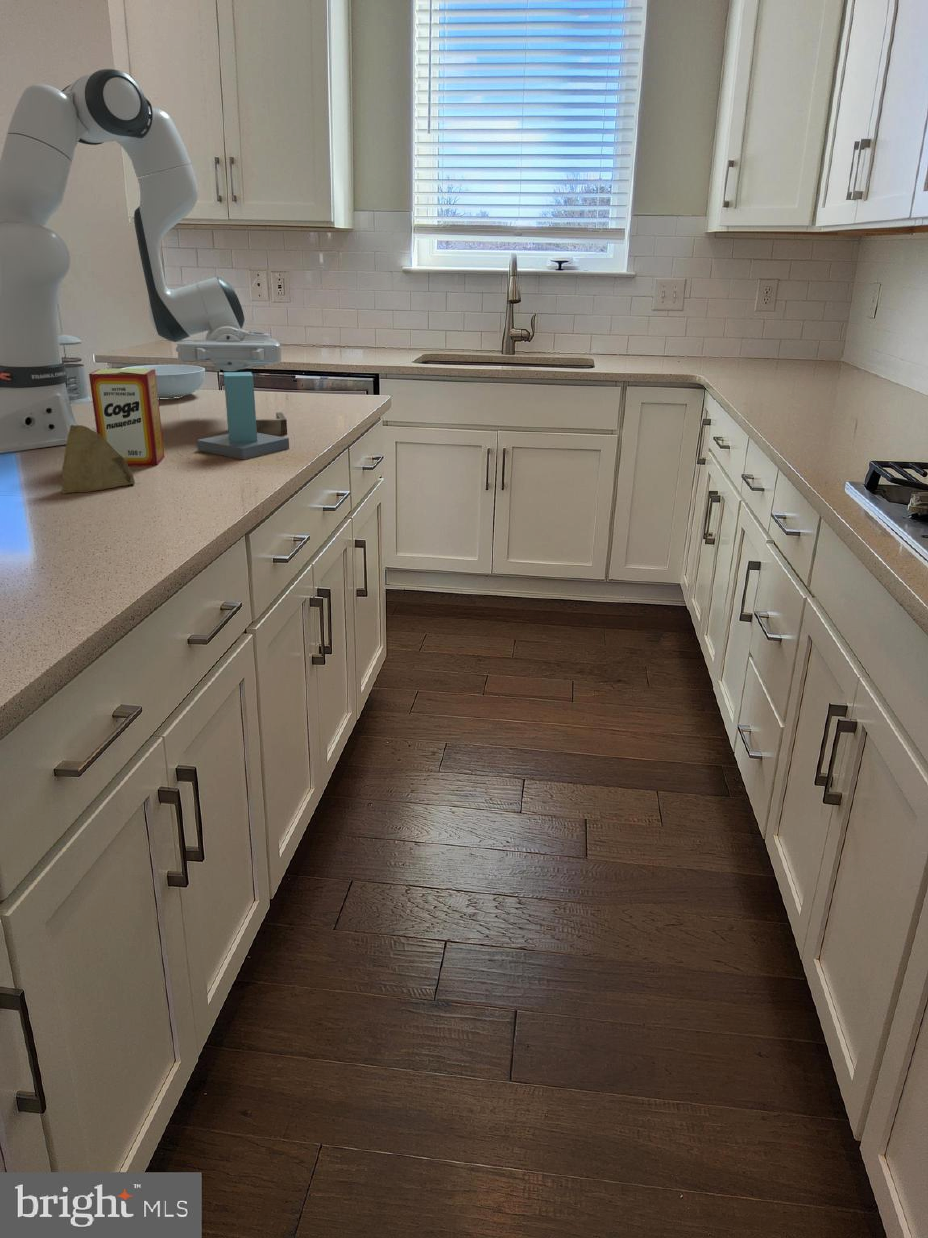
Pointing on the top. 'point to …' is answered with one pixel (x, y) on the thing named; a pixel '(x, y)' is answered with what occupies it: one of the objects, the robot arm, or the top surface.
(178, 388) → the serving bowl
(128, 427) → the baking soda box
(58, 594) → the top surface
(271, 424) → the walnut cubby
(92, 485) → the rock
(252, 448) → the slate tile
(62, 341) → the french press
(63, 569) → the top surface
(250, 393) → the teal block
